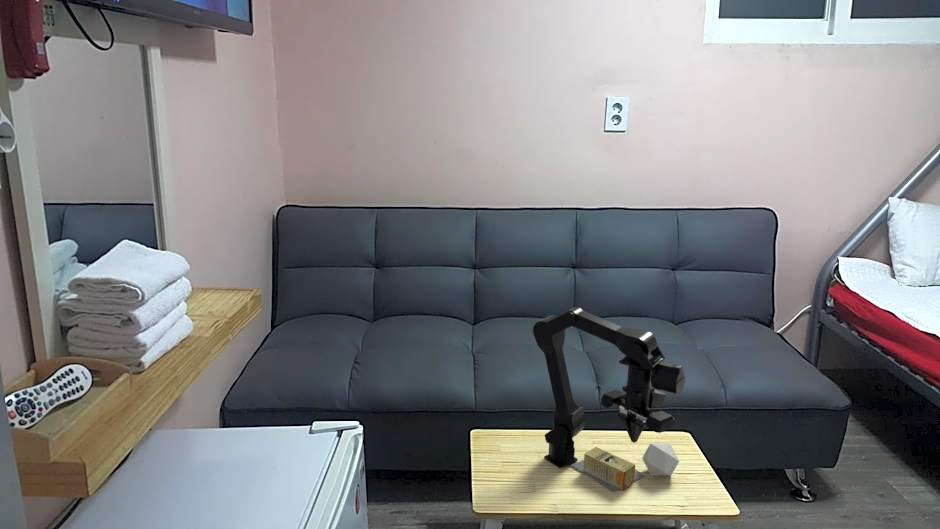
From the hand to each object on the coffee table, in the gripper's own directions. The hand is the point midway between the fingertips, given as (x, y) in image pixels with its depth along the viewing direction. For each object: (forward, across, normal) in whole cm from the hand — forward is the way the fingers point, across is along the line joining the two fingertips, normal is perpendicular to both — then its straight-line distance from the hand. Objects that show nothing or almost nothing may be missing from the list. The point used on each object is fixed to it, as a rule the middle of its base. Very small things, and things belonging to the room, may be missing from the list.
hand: (634, 441), depth 175 cm
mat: (+12, +8, 0) cm, 14 cm away
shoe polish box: (+9, 0, +1) cm, 9 cm away
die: (+12, 0, -10) cm, 16 cm away
